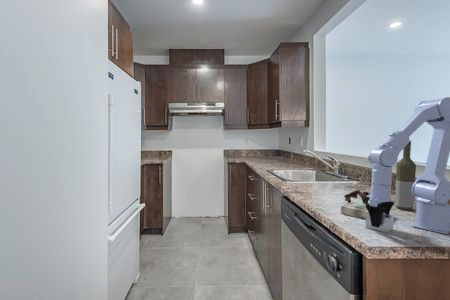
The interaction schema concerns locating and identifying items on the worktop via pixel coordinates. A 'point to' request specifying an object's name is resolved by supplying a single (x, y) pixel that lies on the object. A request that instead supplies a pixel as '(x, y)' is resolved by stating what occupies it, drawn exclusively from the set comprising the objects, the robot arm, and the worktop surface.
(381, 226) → the block
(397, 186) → the bottle
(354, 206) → the stand
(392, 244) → the worktop surface
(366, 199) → the broken clay pot shard
